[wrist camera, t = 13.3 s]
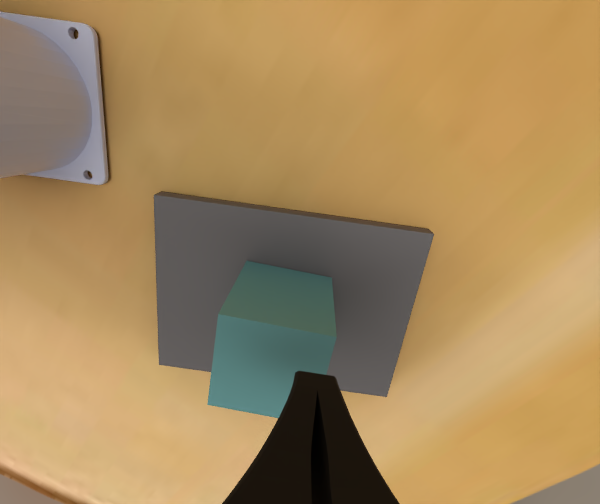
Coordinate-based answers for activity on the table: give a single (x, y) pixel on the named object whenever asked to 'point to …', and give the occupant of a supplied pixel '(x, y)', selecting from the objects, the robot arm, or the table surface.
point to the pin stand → (291, 255)
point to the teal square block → (270, 337)
